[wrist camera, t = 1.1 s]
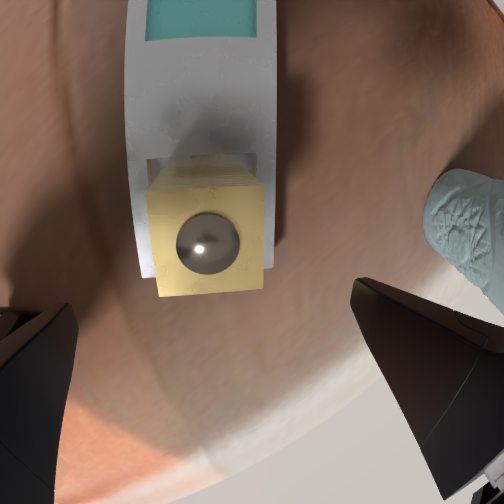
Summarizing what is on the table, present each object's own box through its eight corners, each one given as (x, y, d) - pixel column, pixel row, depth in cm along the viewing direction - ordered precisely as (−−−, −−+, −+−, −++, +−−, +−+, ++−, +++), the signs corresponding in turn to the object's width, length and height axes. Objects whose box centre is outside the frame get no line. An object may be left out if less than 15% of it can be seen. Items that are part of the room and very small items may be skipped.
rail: (266, 255, 23) (273, 267, 21) (145, 264, 21) (142, 277, 20) (267, -41, 13) (274, -54, 12) (139, -39, 12) (135, -51, 10)
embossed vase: (490, 195, 25) (573, 236, 14) (448, 273, 28) (524, 334, 17) (446, 140, 22) (557, 172, 11) (396, 235, 24) (494, 308, 14)
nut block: (241, 236, 21) (263, 290, 15) (168, 241, 20) (158, 299, 14) (240, 163, 19) (265, 186, 12) (162, 168, 18) (144, 193, 12)
